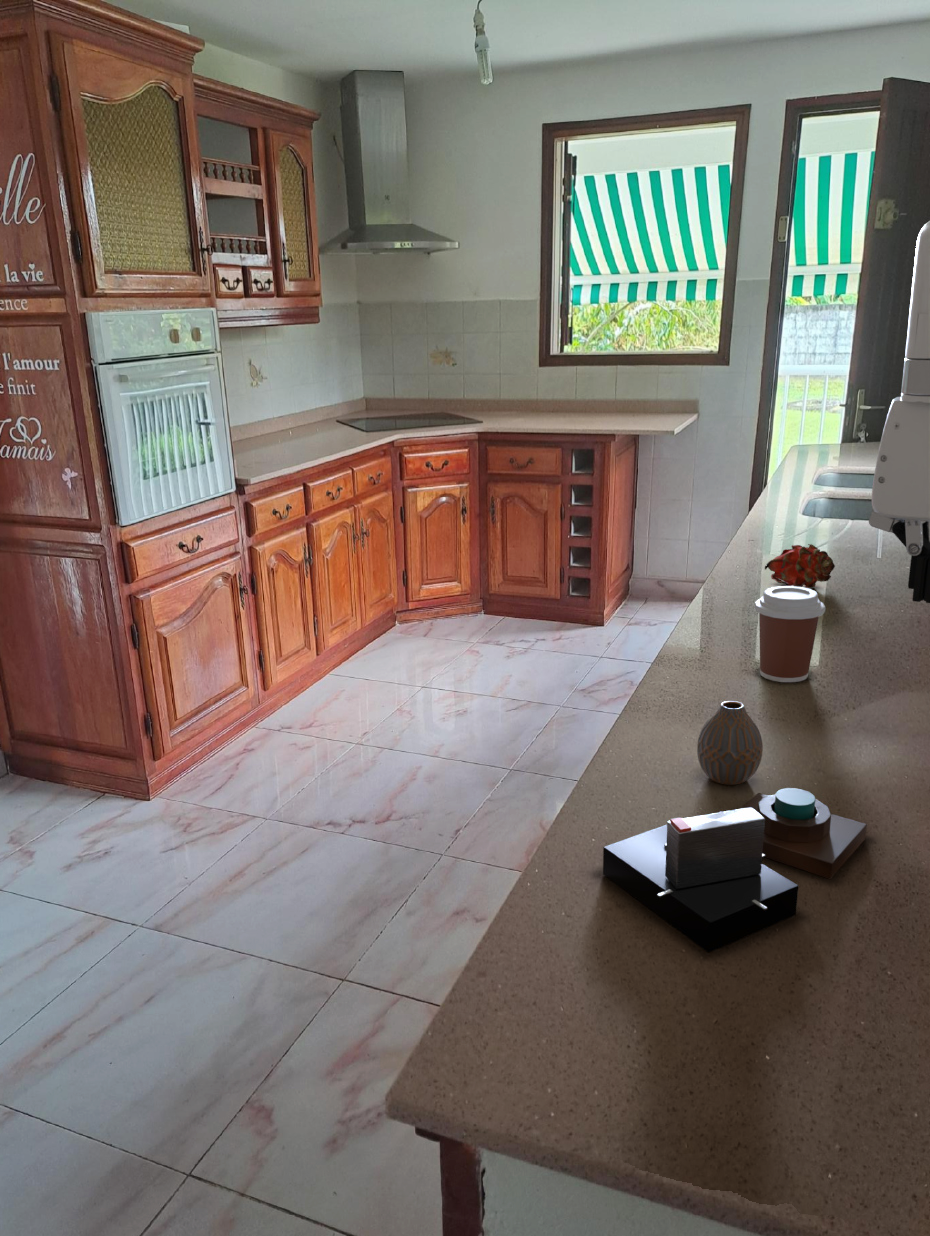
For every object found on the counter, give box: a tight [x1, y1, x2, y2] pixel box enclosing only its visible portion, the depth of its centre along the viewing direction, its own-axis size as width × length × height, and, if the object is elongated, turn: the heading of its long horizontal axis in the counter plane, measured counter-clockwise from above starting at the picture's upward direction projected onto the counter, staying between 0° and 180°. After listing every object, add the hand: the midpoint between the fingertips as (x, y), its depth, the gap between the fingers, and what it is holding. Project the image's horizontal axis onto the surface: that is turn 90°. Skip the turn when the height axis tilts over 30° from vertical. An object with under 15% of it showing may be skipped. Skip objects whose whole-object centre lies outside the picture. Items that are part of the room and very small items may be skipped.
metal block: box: [665, 807, 765, 889], centre depth 83 cm, size 8×2×6 cm, turn 103°
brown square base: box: [740, 792, 868, 880], centre depth 94 cm, size 11×9×4 cm
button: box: [774, 787, 816, 820], centre depth 93 cm, size 4×4×2 cm
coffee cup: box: [754, 585, 826, 683], centre depth 134 cm, size 9×9×12 cm
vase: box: [696, 700, 764, 786], centre depth 106 cm, size 7×7×9 cm
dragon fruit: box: [764, 543, 836, 589], centre depth 175 cm, size 8×8×12 cm
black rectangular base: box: [602, 824, 800, 953], centre depth 86 cm, size 15×12×3 cm
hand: (927, 598), depth 84 cm, fingers closed
